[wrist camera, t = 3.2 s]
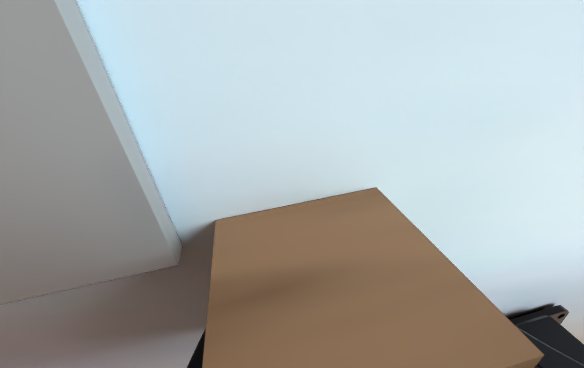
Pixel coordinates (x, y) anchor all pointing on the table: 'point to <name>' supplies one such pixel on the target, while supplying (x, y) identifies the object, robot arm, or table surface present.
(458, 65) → the table surface
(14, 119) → the coaster
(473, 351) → the walnut cube
